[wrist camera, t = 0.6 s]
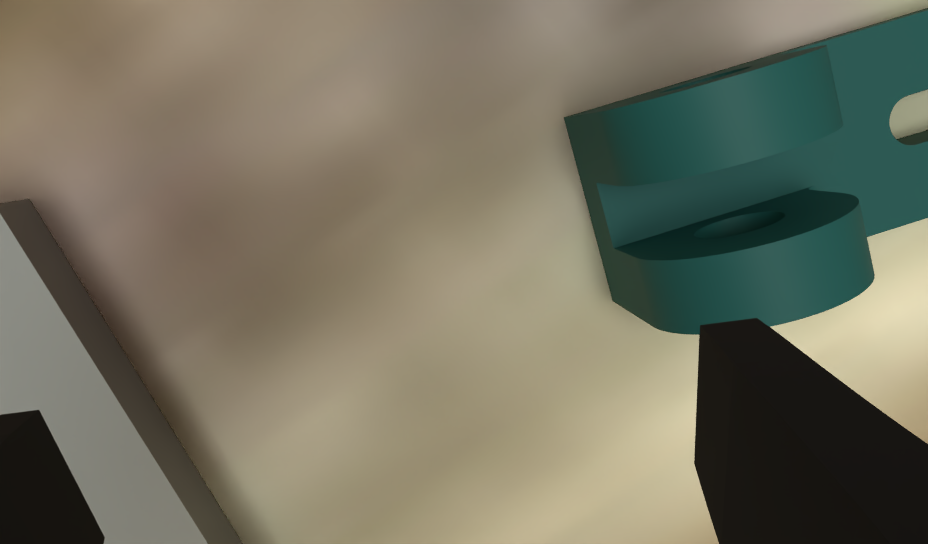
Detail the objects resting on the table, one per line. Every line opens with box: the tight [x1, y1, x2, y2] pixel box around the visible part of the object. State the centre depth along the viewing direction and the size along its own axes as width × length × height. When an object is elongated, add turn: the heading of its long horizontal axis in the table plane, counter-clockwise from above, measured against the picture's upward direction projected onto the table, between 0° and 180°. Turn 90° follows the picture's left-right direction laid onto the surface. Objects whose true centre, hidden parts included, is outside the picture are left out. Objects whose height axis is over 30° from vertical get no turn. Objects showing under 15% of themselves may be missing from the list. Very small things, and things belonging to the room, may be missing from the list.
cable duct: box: [0, 199, 242, 544], centre depth 27 cm, size 18×8×3 cm, turn 27°
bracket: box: [564, 8, 928, 334], centre depth 26 cm, size 18×7×8 cm, turn 107°
